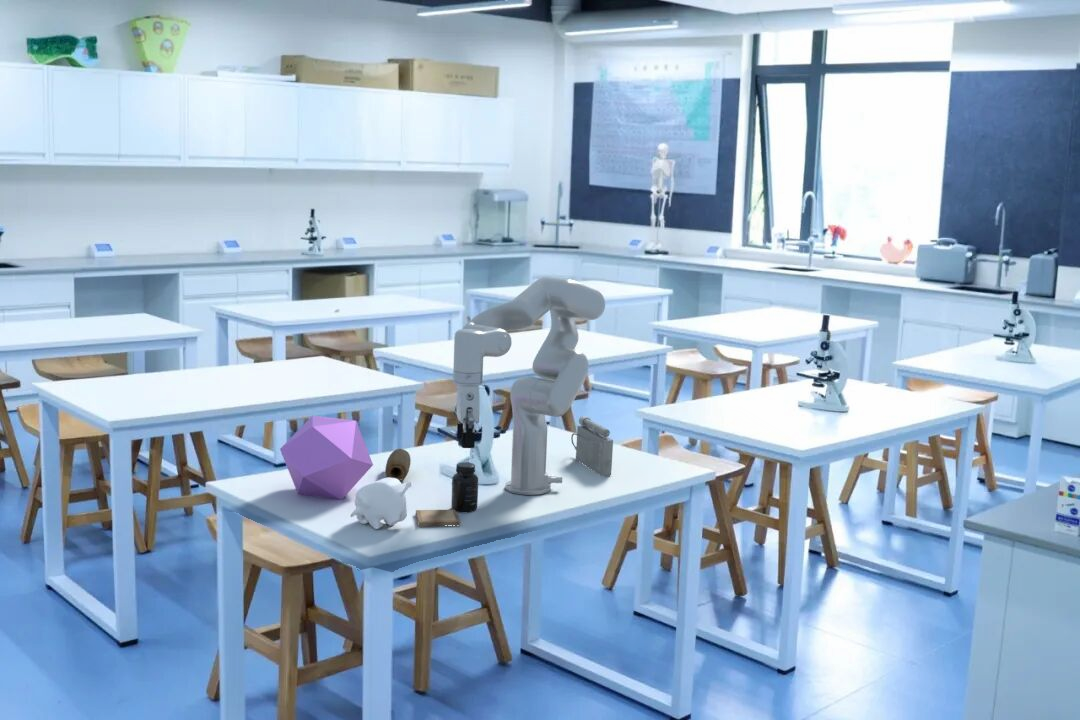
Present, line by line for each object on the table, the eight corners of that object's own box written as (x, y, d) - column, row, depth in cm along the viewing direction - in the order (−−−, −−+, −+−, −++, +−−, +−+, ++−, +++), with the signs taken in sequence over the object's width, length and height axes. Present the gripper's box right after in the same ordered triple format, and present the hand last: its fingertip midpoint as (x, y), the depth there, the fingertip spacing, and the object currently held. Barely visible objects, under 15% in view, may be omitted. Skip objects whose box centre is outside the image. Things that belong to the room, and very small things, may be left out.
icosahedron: (394, 476, 301) (364, 392, 309) (323, 489, 287) (293, 400, 295) (357, 509, 317) (329, 428, 324) (288, 522, 303) (261, 438, 310)
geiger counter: (617, 429, 333) (583, 411, 356) (597, 430, 331) (564, 412, 354) (615, 475, 336) (580, 454, 359) (595, 477, 333) (562, 455, 356)
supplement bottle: (445, 508, 298) (446, 463, 296) (465, 503, 303) (466, 459, 301) (463, 514, 293) (464, 469, 291) (482, 509, 298) (484, 465, 296)
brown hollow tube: (386, 468, 334) (386, 446, 333) (410, 469, 335) (410, 446, 333) (385, 483, 319) (385, 460, 318) (410, 483, 320) (410, 460, 319)
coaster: (454, 513, 294) (454, 509, 293) (459, 526, 284) (459, 521, 284) (415, 514, 292) (415, 509, 291) (419, 527, 282) (419, 522, 282)
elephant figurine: (383, 530, 290) (365, 488, 291) (434, 505, 281) (415, 462, 282) (353, 543, 280) (333, 500, 281) (404, 519, 271) (384, 474, 272)
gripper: (487, 384, 284) (484, 451, 287) (477, 371, 301) (475, 435, 304) (457, 384, 283) (455, 451, 286) (449, 371, 300) (447, 435, 302)
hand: (465, 443), depth 295 cm, fingers open, 9 cm apart
